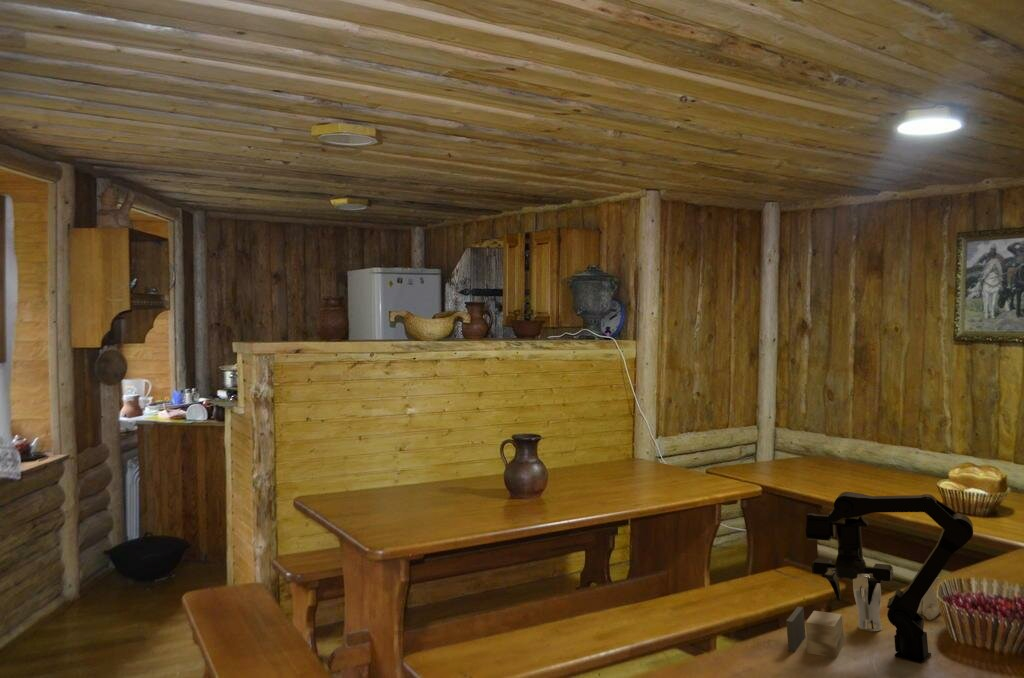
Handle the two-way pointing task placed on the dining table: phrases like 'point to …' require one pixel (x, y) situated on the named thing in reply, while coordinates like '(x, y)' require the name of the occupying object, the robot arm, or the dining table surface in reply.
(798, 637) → the backstop board
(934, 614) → the sitting furry creature
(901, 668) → the dining table surface
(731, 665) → the dining table surface
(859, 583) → the beer glass
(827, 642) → the maple block
